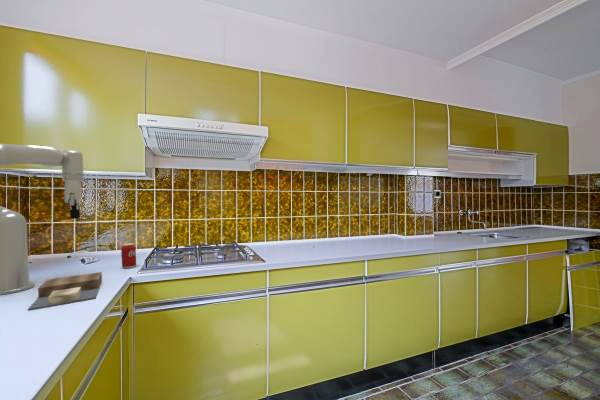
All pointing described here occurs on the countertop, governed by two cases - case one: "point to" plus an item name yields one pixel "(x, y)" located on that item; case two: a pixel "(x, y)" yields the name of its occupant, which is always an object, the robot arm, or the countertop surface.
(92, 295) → the rubber mat
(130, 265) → the beverage can
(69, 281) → the walnut deck
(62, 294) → the beech tile
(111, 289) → the countertop surface
